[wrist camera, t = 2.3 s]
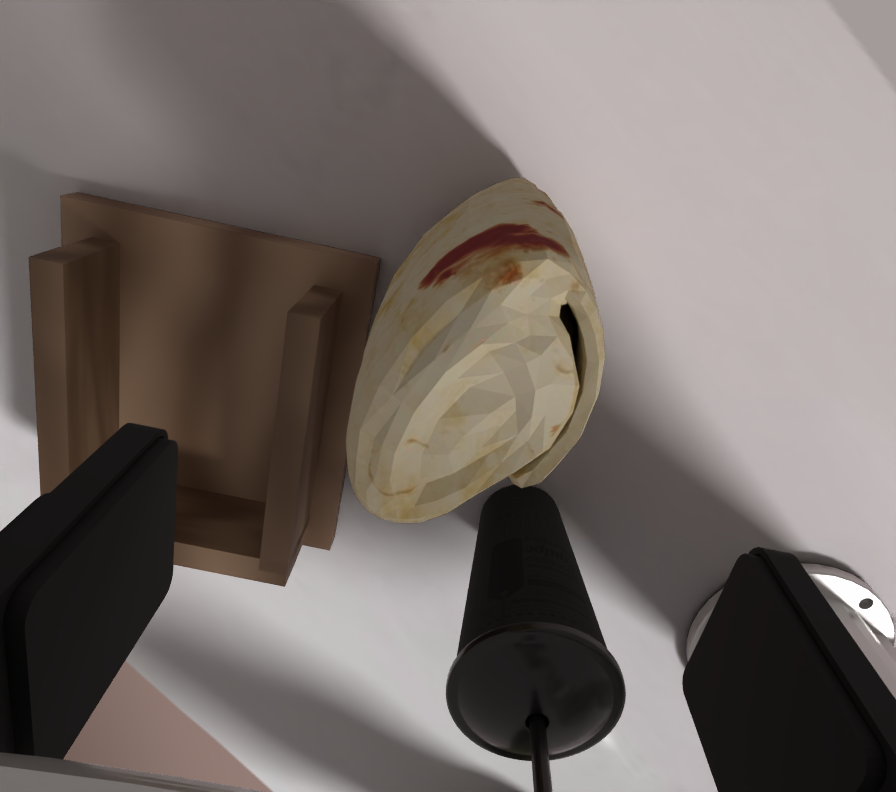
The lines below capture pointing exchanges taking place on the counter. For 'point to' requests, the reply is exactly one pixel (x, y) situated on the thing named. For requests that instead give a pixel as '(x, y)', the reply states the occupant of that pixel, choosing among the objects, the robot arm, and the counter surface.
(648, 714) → the counter surface
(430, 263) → the food model
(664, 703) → the counter surface
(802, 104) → the counter surface
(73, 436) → the dock
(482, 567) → the drinking cup
